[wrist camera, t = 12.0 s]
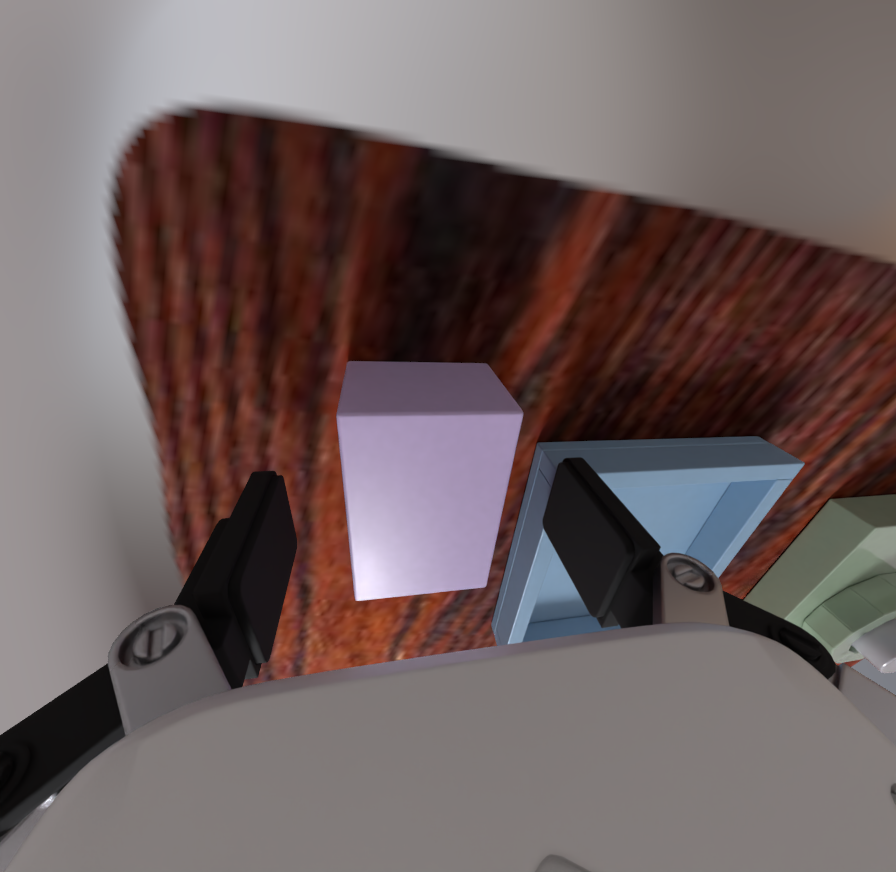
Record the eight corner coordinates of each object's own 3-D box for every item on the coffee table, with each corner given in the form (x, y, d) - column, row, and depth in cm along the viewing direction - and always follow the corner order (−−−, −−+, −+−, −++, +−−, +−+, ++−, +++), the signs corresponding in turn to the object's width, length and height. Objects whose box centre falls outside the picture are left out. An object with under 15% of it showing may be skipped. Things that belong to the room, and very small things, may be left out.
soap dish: (536, 441, 14) (560, 474, 12) (757, 435, 16) (806, 463, 14) (490, 624, 20) (501, 663, 18) (650, 603, 22) (674, 637, 20)
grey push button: (876, 613, 20) (915, 644, 18) (922, 605, 21) (963, 635, 19) (834, 646, 22) (867, 677, 20) (878, 639, 22) (912, 668, 21)
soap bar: (346, 360, 11) (335, 414, 8) (487, 362, 12) (525, 412, 9) (359, 523, 14) (354, 602, 11) (465, 516, 15) (486, 588, 12)
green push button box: (829, 498, 19) (924, 557, 16) (957, 489, 21) (1066, 540, 18) (723, 622, 26) (775, 683, 22) (829, 606, 27) (892, 661, 24)
